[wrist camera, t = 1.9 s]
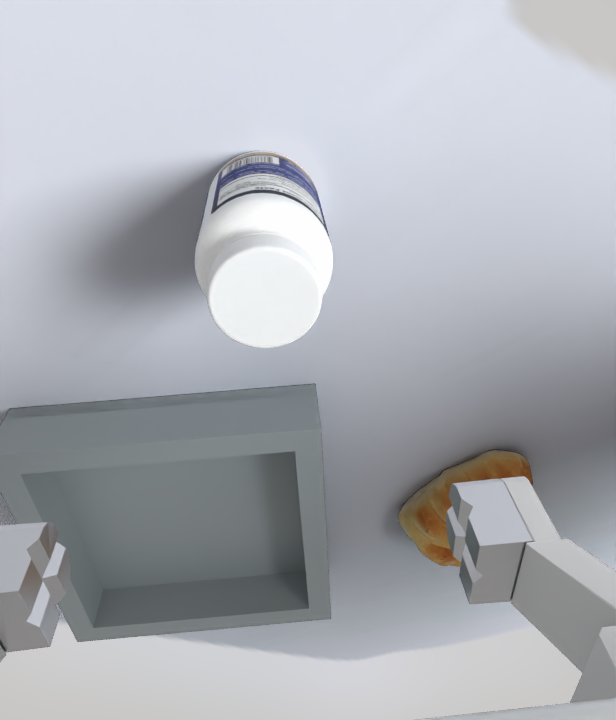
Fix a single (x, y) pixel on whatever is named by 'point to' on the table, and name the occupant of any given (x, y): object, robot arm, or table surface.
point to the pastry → (432, 501)
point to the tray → (177, 508)
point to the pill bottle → (263, 250)
